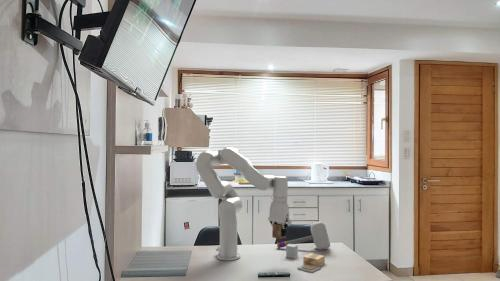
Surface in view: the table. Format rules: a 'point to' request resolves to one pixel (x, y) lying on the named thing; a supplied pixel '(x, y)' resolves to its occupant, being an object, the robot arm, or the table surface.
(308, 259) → the oak base
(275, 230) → the walnut block
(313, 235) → the hammer
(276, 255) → the table surface
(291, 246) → the grey block
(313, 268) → the swatch tile
